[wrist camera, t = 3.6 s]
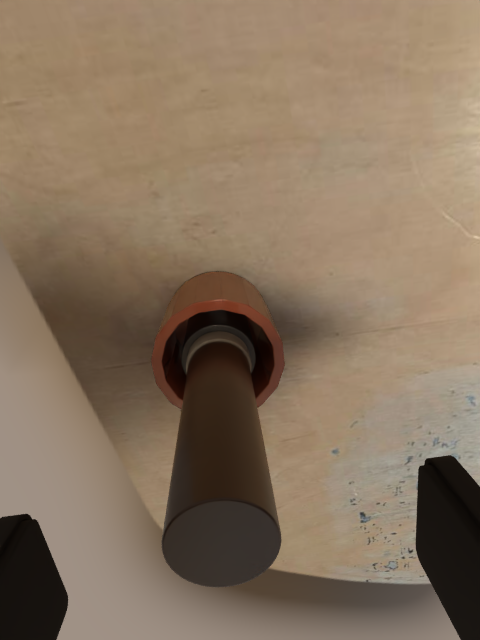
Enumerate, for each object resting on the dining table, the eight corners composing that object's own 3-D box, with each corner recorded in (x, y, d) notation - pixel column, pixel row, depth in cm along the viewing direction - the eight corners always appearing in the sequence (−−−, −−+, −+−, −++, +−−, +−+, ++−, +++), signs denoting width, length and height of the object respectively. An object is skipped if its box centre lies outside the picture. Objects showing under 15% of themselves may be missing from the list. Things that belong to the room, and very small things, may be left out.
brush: (193, 354, 24) (160, 609, 9) (183, 299, 22) (127, 497, 8) (251, 346, 24) (303, 587, 9) (243, 291, 22) (292, 472, 8)
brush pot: (177, 372, 25) (166, 427, 19) (158, 279, 22) (139, 310, 17) (272, 358, 25) (289, 410, 19) (262, 264, 22) (277, 291, 17)
